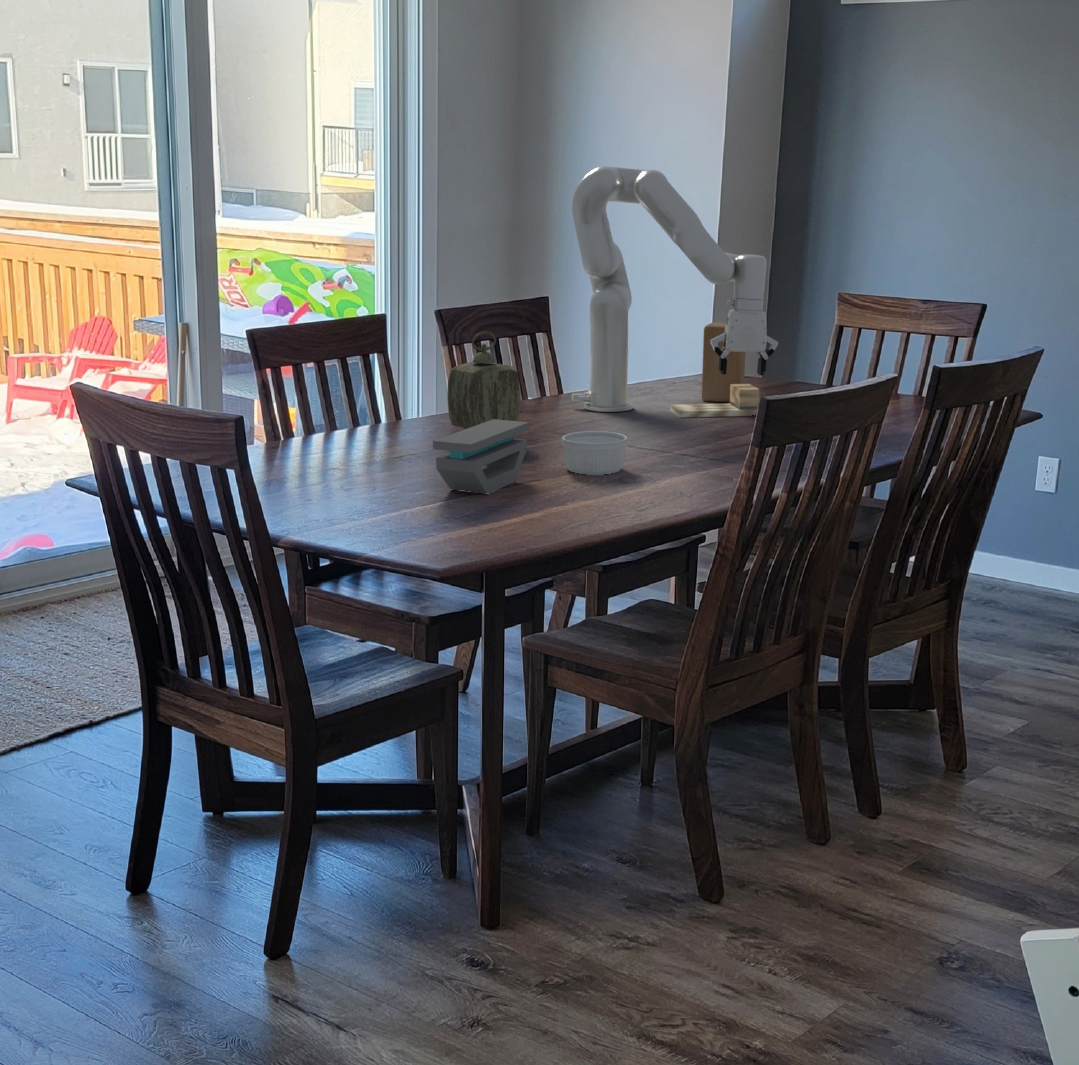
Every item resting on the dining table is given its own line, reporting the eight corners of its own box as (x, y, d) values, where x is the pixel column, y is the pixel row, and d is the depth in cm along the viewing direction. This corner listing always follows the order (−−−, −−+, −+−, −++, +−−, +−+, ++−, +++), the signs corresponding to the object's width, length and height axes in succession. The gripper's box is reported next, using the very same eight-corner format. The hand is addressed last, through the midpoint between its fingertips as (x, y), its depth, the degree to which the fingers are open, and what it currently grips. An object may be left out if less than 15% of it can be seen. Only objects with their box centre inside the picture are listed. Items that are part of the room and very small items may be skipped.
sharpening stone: (494, 472, 276) (493, 419, 274) (529, 475, 273) (529, 422, 270) (434, 498, 254) (433, 440, 252) (471, 502, 251) (470, 444, 248)
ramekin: (572, 479, 271) (572, 444, 269) (553, 465, 283) (554, 432, 281) (635, 475, 274) (636, 441, 272) (614, 462, 286) (615, 429, 285)
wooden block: (700, 401, 361) (703, 325, 356) (707, 395, 370) (709, 321, 365) (738, 403, 358) (741, 327, 353) (744, 397, 367) (747, 323, 362)
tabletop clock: (496, 436, 313) (495, 327, 306) (523, 442, 306) (523, 330, 300) (448, 445, 303) (446, 332, 296) (475, 451, 297) (474, 336, 290)
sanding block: (758, 409, 340) (759, 389, 339) (739, 409, 340) (740, 389, 339) (748, 403, 349) (749, 383, 348) (729, 403, 348) (730, 384, 347)
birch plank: (679, 417, 338) (679, 411, 337) (669, 410, 347) (670, 404, 347) (773, 415, 341) (773, 409, 340) (761, 408, 350) (761, 402, 350)
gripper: (717, 306, 333) (712, 375, 338) (785, 308, 336) (779, 377, 340) (709, 302, 340) (704, 371, 345) (776, 305, 343) (770, 372, 347)
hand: (741, 374), depth 342 cm, fingers open, 9 cm apart
